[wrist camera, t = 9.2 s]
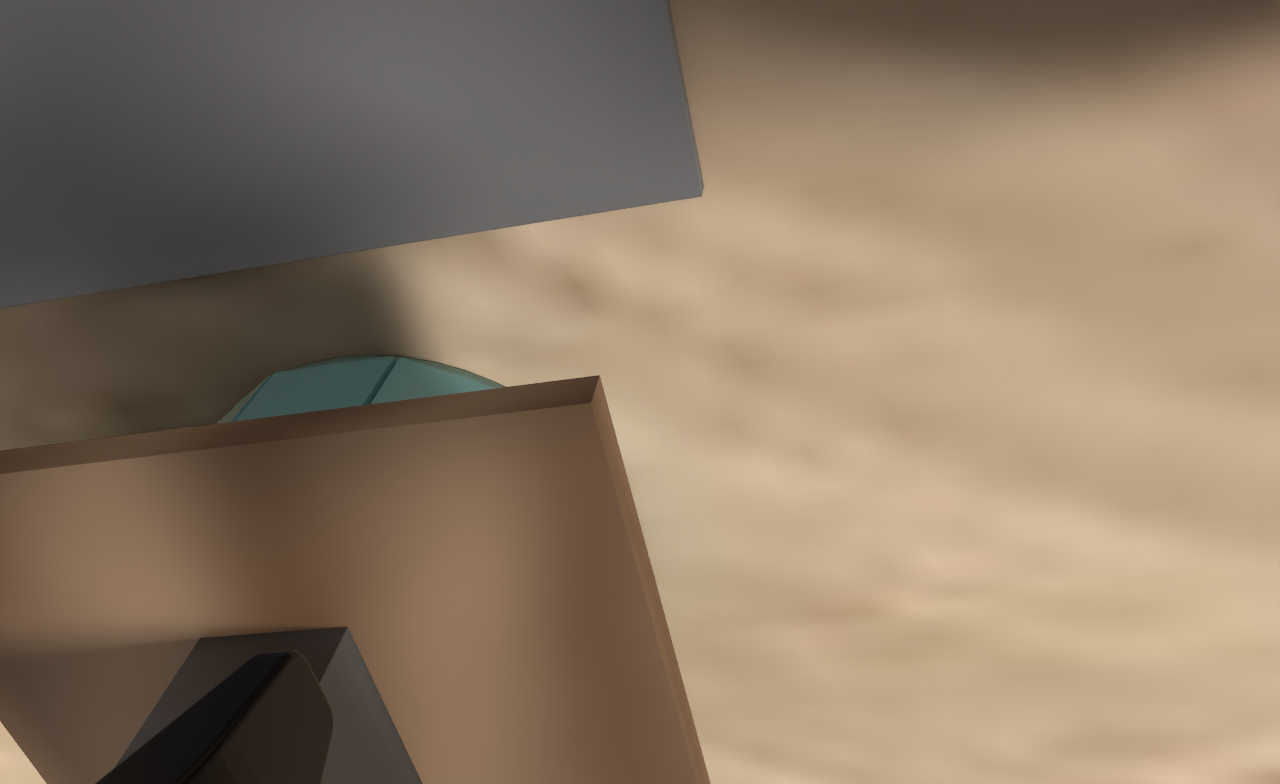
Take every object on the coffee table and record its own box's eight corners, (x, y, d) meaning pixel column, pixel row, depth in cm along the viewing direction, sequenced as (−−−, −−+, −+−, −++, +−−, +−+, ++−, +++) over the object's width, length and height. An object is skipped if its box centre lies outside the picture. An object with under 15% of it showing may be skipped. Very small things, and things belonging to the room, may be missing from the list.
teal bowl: (581, 324, 22) (530, 466, 17) (684, 699, 27) (664, 877, 23) (119, 387, 24) (-25, 526, 20) (298, 720, 29) (215, 885, 25)
